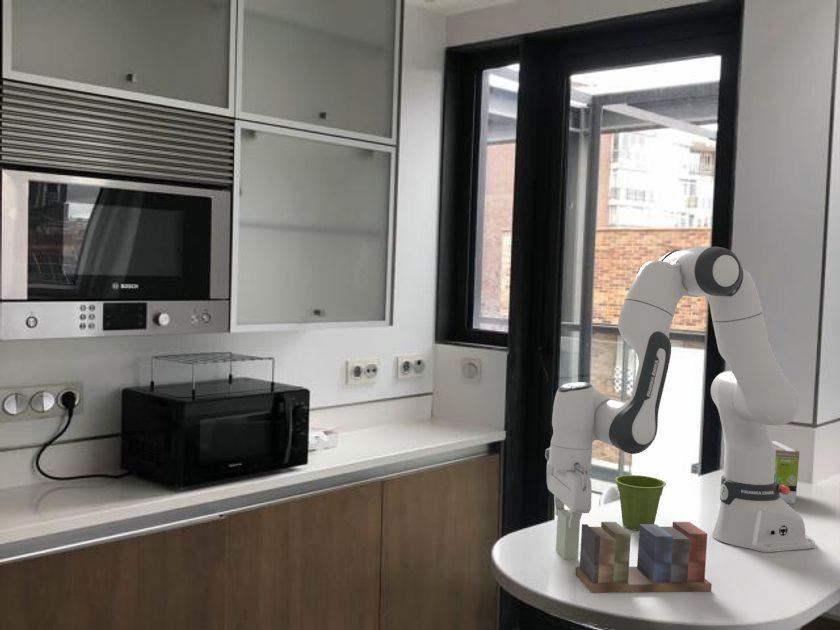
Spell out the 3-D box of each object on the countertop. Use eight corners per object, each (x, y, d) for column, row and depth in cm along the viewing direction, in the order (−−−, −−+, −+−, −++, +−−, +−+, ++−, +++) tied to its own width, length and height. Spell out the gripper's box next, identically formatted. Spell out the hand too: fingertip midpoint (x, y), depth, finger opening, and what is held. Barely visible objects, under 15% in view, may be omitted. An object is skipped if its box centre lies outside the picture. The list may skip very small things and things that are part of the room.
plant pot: (602, 522, 216) (605, 476, 216) (642, 518, 221) (644, 473, 220) (633, 536, 205) (636, 488, 205) (673, 532, 210) (676, 485, 210)
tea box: (797, 504, 242) (800, 450, 241) (760, 502, 242) (763, 449, 241) (775, 490, 257) (779, 439, 256) (741, 489, 257) (744, 438, 256)
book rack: (688, 573, 181) (691, 520, 181) (711, 591, 171) (714, 535, 171) (575, 574, 178) (578, 520, 177) (591, 592, 168) (594, 535, 167)
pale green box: (569, 550, 193) (571, 509, 193) (577, 559, 187) (580, 517, 187) (555, 550, 193) (557, 509, 192) (564, 559, 187) (566, 517, 186)
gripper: (601, 470, 179) (596, 537, 180) (570, 449, 199) (566, 509, 200) (571, 469, 178) (566, 537, 179) (543, 448, 198) (539, 509, 199)
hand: (566, 522), depth 190 cm, fingers open, 8 cm apart
